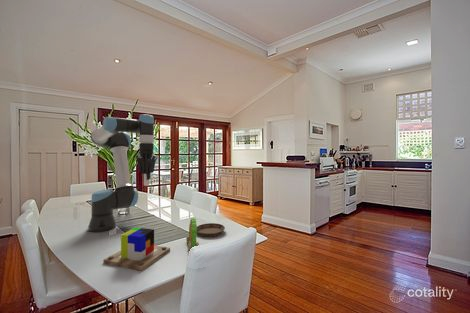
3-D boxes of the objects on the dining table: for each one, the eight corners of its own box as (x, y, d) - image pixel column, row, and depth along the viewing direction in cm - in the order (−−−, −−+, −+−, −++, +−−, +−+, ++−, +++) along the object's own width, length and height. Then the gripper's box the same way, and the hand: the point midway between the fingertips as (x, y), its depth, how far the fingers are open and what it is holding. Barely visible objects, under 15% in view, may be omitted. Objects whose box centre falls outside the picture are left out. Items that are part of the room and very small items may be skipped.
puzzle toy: (141, 259, 99) (141, 237, 99) (121, 257, 102) (121, 234, 101) (154, 250, 109) (154, 229, 109) (135, 247, 111) (135, 227, 111)
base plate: (103, 263, 99) (103, 258, 99) (136, 245, 118) (136, 241, 118) (141, 271, 93) (141, 266, 93) (170, 250, 112) (170, 246, 112)
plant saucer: (199, 240, 127) (199, 234, 127) (192, 229, 143) (192, 225, 143) (229, 235, 134) (229, 230, 134) (219, 226, 150) (219, 221, 150)
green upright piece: (185, 241, 124) (186, 213, 124) (196, 240, 126) (196, 212, 125) (188, 254, 109) (188, 222, 109) (200, 252, 111) (200, 221, 110)
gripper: (160, 143, 129) (160, 185, 129) (141, 143, 133) (141, 183, 133) (152, 142, 122) (151, 187, 122) (132, 142, 126) (131, 185, 126)
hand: (146, 185), depth 128 cm, fingers closed
